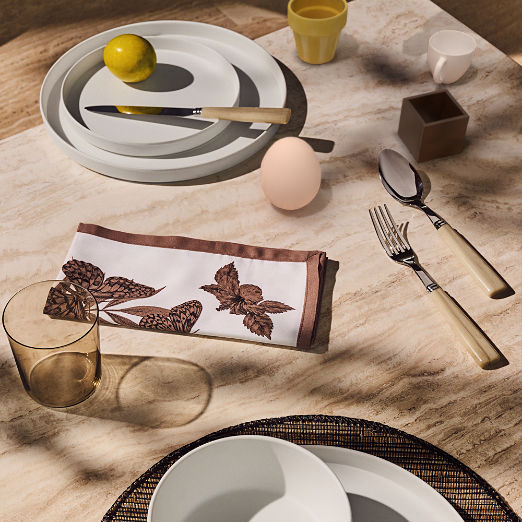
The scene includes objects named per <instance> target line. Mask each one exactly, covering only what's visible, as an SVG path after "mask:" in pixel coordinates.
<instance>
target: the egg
mask: <svg viewBox="0 0 522 522" xmlns="http://www.w3.org/2000/svg"><path fill="white" fill-rule="evenodd" d="M259 168H260V169H259V183H260V186H261V187H260V188H261V190H262V192H263V194H264V196H265V197H266V199H267V200H268V201H269V202H270V203H271V204H273V205H274V206H275V207H277V208H280V209H282V210H287V211H293V210H295V211H296V210H299V209H301V208H304V207H305V206H307V205H308V204H310V203H311V202H312V201H313V200H314V198H316V196H317V194H318V192H319V191H320V190H319V189H320V187H321V183H322V168H321V163H320V160H319V157H318V155H317V154H316V152H315V150H314V149H313V147H312V146H311V145H310V144H309V143H308V142H306V141H305V140H304V139H301V138H299V137H296V136H285V137H283V138H280V139H278V140H276V141H275V142H274V143H273V144H271V146H270V147H269V148H268V150H267V151H266V153H265V154H264V156H263V158H262V160H261V163H260V167H259Z"/></svg>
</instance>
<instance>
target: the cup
mask: <svg viewBox="0 0 522 522" xmlns="http://www.w3.org/2000/svg"><path fill="white" fill-rule="evenodd" d="M476 49H477V41H476V40H475V38H474V37H473V36H472V35H470V34H468V33H466V32H463V31H460V30H455V29H454V30H453V29H445V30H440V31H437V32H435V33H433V34H432V35H431V36H430V37H429V40H428V46H427V54H426V56H427V58H426V59H427V66H428V68H429V69H428V70H429V71H430V73H431V75H432V79H433V82H434V83H435V84H439V85H440V84H445V85H448V84H453V83H456V82H457V81H458V80H459V79H461V78H462V77H463V76H464V75H465V73H467V71H468V70H469V68H470V66H471V64H472V62H473V59H474V56H475V52H476Z"/></svg>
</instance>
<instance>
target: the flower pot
mask: <svg viewBox="0 0 522 522" xmlns="http://www.w3.org/2000/svg"><path fill="white" fill-rule="evenodd" d="M348 14H349V4H348V2H347V1H346V0H289V1H288V3H287V23H288V26H289V28H290V30H291V31H292V34H293V38H294V42H295V47H296V51H297V52H296V53H297V56H298V58H299V59H300V60H301V61H302V62H304V63H306V64H310V65H323V64H326V63H329V62H330V61H332V60H333V59H334V57H335V55H336V51H337V48H338V44H339V40H340V37H341V33H342V31H343V29H345V27H346V26H347V22H348Z"/></svg>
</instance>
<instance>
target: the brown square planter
mask: <svg viewBox="0 0 522 522" xmlns="http://www.w3.org/2000/svg"><path fill="white" fill-rule="evenodd" d="M470 118H471V116H470V115H469V114H468V112H467V111H466V110H465V108H463V106H462V105H461V104H460V103H459V101H458V100H457V99H456V98H455V96H453V94H452V93H451V92H450V90H448V88H442V89H438V90H433V91H429V92H425V93H424V92H423V93H420V94H415V95H411V96H407V97H402V101H401V108H400V115H399V121H398V127H397V136H398V137H399V139H400V140H401V142H402V143H403V144H404V146H405V147H406V148H407V150H408V152H409V153H410V155H411V157H412V158H413V159H414V160H415V162H416V163H417V164H420V163H423V162H427V161H432V160H436V159H441V158H444V157H449V156H453V155H456V154H457V155H458V154H461V153H462V149H463V145H464V142H465V137H466V133H467V130H468V125H469V121H470Z"/></svg>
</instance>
